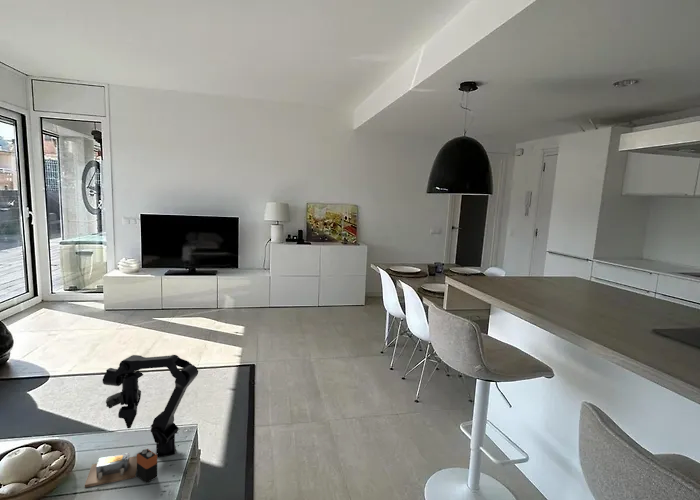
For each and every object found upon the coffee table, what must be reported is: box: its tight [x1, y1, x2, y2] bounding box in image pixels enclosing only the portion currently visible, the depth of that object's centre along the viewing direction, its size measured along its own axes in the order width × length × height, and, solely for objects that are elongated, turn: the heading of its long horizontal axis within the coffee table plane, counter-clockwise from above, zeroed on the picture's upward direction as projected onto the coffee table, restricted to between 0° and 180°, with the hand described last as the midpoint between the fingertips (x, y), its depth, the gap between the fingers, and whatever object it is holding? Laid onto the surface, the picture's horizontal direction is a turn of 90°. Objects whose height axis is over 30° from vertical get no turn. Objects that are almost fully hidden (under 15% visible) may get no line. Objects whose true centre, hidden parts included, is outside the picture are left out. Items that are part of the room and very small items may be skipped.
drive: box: [96, 452, 130, 477], centre depth 146 cm, size 10×6×4 cm, turn 113°
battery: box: [136, 448, 158, 484], centre depth 144 cm, size 4×7×10 cm, turn 57°
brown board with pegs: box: [84, 455, 137, 488], centre depth 146 cm, size 16×12×3 cm
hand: (130, 422), depth 160 cm, fingers open, 9 cm apart
